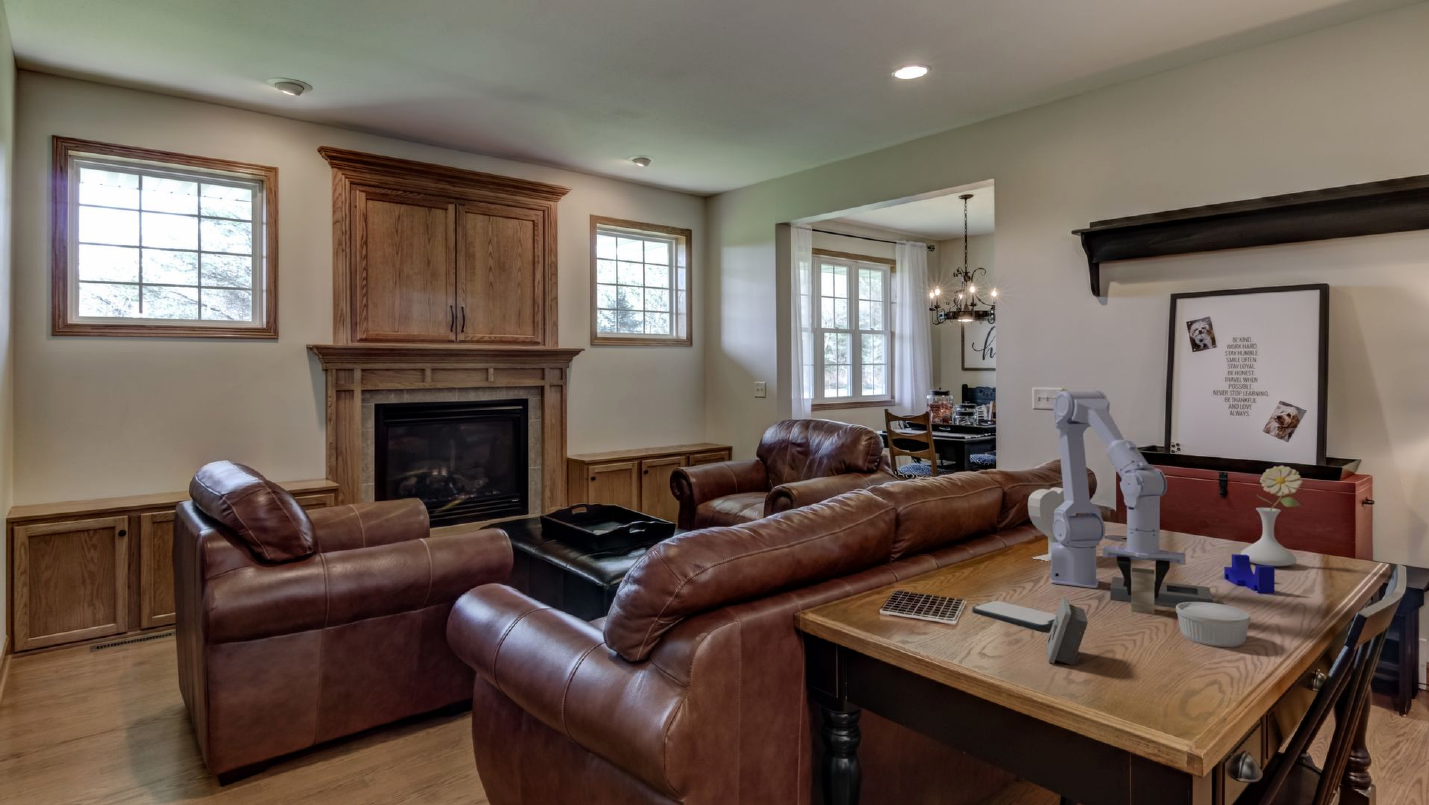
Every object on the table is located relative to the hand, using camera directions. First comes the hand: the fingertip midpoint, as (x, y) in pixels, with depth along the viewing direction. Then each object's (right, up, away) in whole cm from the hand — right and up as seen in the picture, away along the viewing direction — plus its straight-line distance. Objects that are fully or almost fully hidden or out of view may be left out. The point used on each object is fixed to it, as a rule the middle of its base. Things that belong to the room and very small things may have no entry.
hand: (1142, 595), depth 151 cm
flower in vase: (+52, -2, +34) cm, 62 cm away
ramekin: (+3, -4, -17) cm, 17 cm away
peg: (0, -3, 0) cm, 3 cm away
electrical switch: (-27, -4, -24) cm, 37 cm away
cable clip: (+33, -3, +16) cm, 37 cm away
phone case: (-27, -4, -4) cm, 27 cm away
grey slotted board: (+8, -3, +7) cm, 11 cm away
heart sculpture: (+2, -2, +45) cm, 45 cm away
